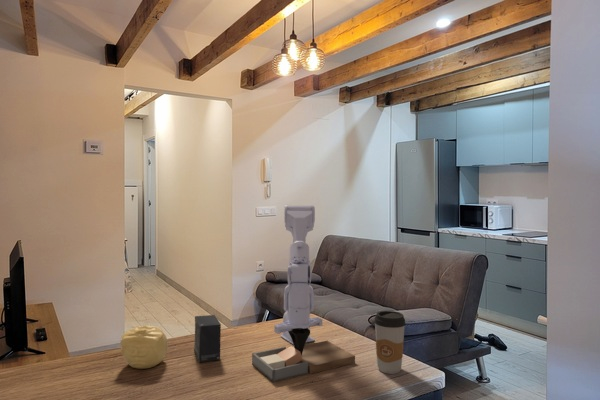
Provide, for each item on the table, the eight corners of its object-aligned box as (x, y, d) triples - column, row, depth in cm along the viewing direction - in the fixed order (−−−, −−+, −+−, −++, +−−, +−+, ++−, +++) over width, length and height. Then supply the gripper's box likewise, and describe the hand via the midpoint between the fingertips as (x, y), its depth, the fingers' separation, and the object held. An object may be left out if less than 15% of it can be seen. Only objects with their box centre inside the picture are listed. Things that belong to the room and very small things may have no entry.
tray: (252, 363, 115) (252, 353, 115) (284, 356, 121) (284, 346, 121) (273, 382, 104) (273, 370, 104) (308, 373, 109) (308, 362, 109)
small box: (221, 360, 118) (222, 323, 118) (198, 363, 115) (198, 326, 115) (215, 347, 128) (215, 313, 128) (193, 350, 125) (193, 315, 125)
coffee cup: (369, 371, 111) (370, 316, 111) (378, 360, 118) (379, 308, 118) (400, 378, 107) (401, 320, 107) (408, 366, 114) (408, 312, 114)
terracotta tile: (278, 362, 115) (276, 354, 115) (293, 353, 118) (291, 345, 117) (287, 369, 111) (284, 360, 110) (302, 359, 113) (300, 351, 113)
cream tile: (259, 366, 112) (259, 357, 112) (276, 362, 115) (276, 353, 115) (267, 373, 108) (267, 364, 108) (284, 369, 111) (284, 360, 111)
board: (284, 356, 121) (284, 349, 121) (327, 346, 129) (327, 340, 129) (310, 374, 109) (310, 366, 109) (355, 362, 117) (355, 355, 117)
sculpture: (114, 373, 109) (114, 332, 109) (134, 355, 121) (134, 318, 121) (157, 373, 108) (157, 333, 108) (173, 356, 120) (173, 319, 120)
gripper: (283, 313, 108) (282, 365, 108) (328, 306, 115) (328, 354, 116) (270, 307, 114) (270, 355, 114) (315, 300, 122) (314, 346, 122)
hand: (298, 354), depth 115 cm, fingers closed
